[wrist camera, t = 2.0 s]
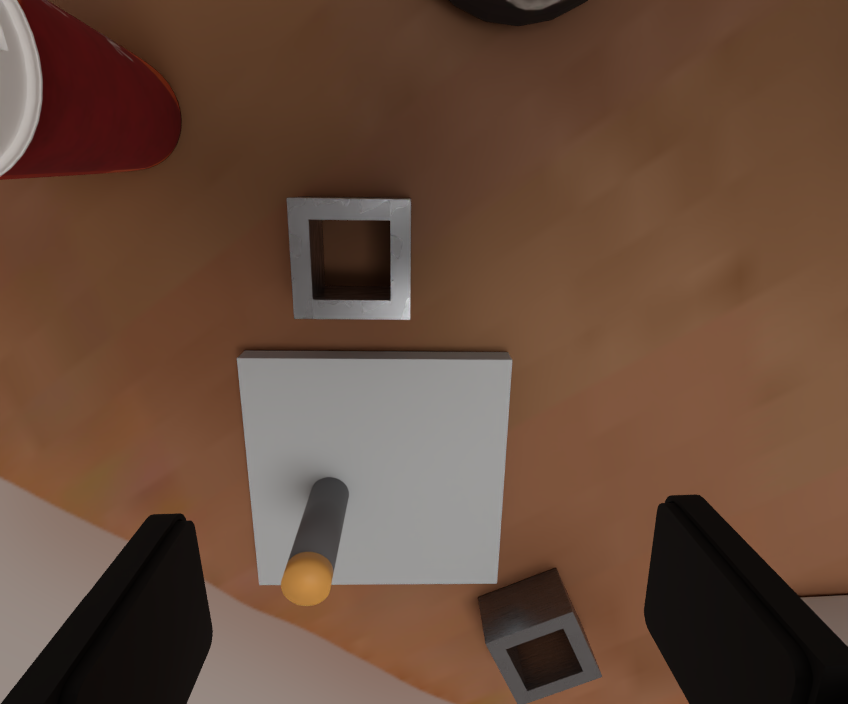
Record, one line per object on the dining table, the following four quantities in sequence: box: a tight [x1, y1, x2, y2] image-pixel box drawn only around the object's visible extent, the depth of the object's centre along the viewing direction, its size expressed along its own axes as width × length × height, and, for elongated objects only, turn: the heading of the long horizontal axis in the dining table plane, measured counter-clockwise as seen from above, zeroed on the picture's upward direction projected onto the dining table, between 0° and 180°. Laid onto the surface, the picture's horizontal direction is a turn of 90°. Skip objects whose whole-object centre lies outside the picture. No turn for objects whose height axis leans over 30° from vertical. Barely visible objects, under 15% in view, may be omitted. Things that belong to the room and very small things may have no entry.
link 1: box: [287, 196, 411, 320], centre depth 28 cm, size 6×6×4 cm
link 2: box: [478, 568, 602, 704], centre depth 36 cm, size 6×6×4 cm
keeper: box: [237, 351, 512, 606], centre depth 30 cm, size 16×16×10 cm
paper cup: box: [0, 0, 181, 180], centre depth 21 cm, size 8×8×14 cm
